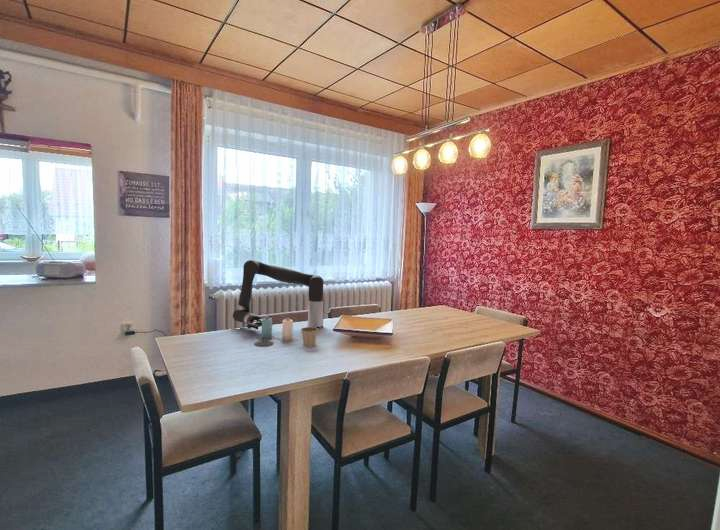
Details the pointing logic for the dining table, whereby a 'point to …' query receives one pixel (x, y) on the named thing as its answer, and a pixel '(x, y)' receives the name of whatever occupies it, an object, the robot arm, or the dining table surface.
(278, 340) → the tile
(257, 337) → the tile
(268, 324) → the jar teal
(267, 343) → the mat
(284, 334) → the peach pillar candle
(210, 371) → the dining table surface
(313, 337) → the flower pot
